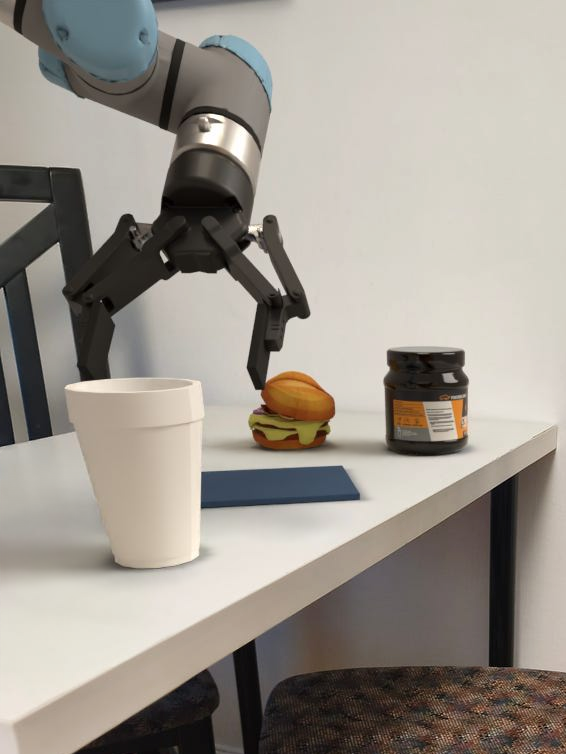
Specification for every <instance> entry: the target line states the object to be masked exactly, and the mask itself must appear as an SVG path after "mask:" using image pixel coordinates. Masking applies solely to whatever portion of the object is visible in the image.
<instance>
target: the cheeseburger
mask: <svg viewBox="0 0 566 754" xmlns="http://www.w3.org/2000/svg"><path fill="white" fill-rule="evenodd" d="M260 397H261V399H262V401H263V404H262V403H260V407H257V408H256V409H253V410H252V413H251V414H249V417H248V420H247V421H248V422H247V425H248V427H249V430H251V434H252V438H253V440H254V441H255V442H256V443H258V444H259V445H261V446H262V447H263V448H264V447H265V448H268V449H272V450H303V449H310V448H315V447H319V446H321V445H323V444H324V443H326V440H327V437H328V436H329V435H330V434H331V425H330V424H329V423H330V422H331V420H332V419H334V417H335V415H336V403H335V398H334V397H333V395H332V394H330V393H329V392H328V391H326V390H325V389H324V388H323V387H321V385H320V384H319V383H318V382H317V380H316V379H314V378H313V377H311V376H310V375H308V374H306V373H304V372H300V371H297V370H296V371H295V370H288V371H284V372H281V373H279V374H277V375H275V376H273V377H272V378H269V379H268V380H266V384H265V390H260Z"/></svg>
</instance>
